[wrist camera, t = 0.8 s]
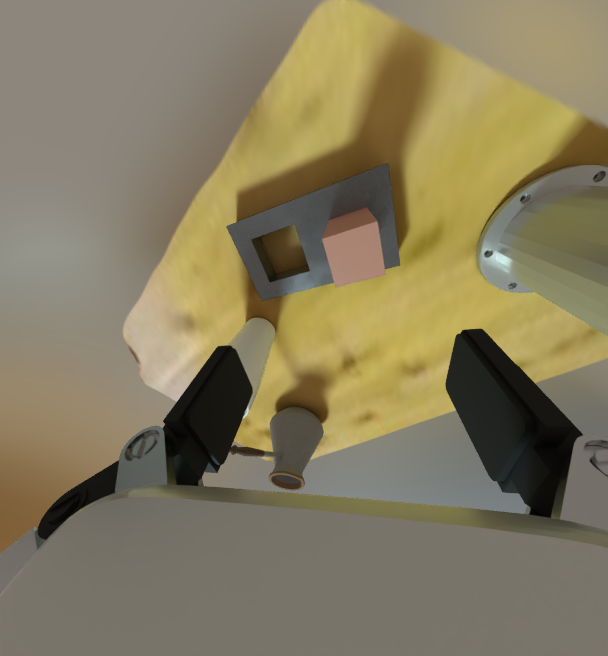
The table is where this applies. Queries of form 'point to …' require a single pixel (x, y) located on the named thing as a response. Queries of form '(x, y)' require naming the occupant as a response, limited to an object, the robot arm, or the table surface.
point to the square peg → (354, 247)
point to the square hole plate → (315, 231)
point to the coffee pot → (289, 446)
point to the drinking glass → (254, 351)
